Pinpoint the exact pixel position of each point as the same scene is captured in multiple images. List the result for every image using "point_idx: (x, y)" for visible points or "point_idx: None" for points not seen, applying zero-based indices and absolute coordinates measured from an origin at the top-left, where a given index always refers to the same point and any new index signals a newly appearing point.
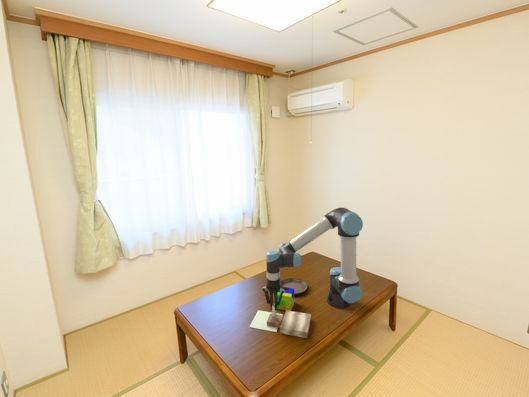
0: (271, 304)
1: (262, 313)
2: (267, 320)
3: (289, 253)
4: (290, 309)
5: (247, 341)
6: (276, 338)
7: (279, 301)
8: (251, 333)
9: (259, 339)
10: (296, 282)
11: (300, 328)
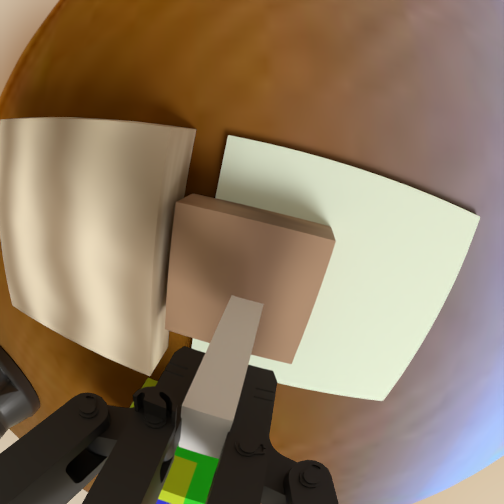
0: (239, 449)
1: (357, 375)
2: (325, 262)
3: None
4: (144, 386)
5: (472, 48)
6: (226, 59)
7: (32, 450)
8: (461, 134)
9: (387, 48)
10: None
11: (24, 151)
